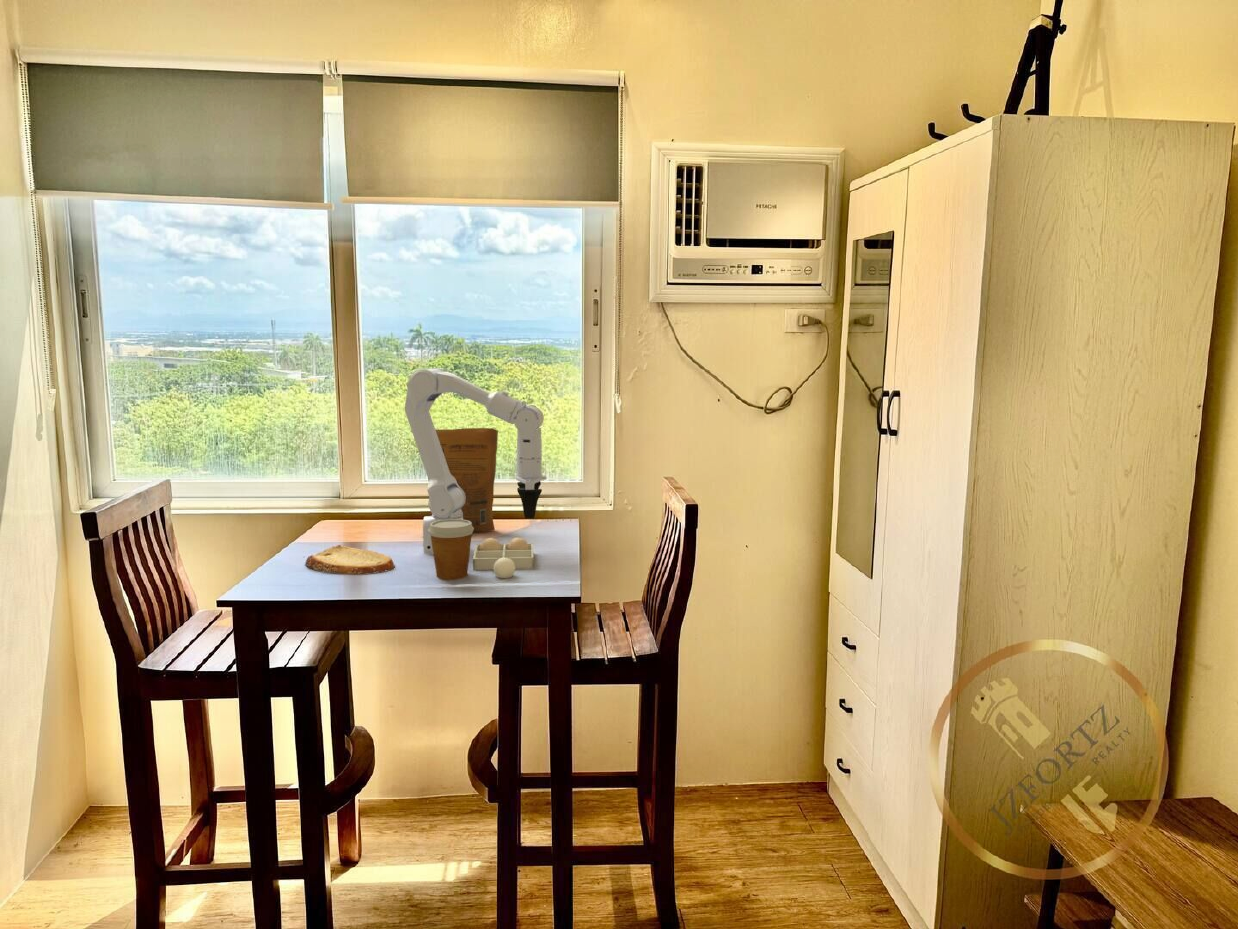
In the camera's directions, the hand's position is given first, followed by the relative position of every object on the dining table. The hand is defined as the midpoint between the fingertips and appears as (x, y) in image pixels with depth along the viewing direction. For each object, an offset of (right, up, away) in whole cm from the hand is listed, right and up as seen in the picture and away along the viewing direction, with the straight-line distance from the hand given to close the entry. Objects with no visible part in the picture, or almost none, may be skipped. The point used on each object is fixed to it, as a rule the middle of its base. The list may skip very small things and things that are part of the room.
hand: (529, 514), depth 190 cm
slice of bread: (-40, -11, -8) cm, 42 cm away
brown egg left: (-9, -10, -4) cm, 13 cm away
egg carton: (-5, -11, -6) cm, 13 cm away
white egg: (-3, -13, -18) cm, 22 cm away
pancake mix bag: (-20, -6, +26) cm, 33 cm away
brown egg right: (-2, -10, -3) cm, 10 cm away
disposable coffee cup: (-14, -13, -18) cm, 26 cm away
